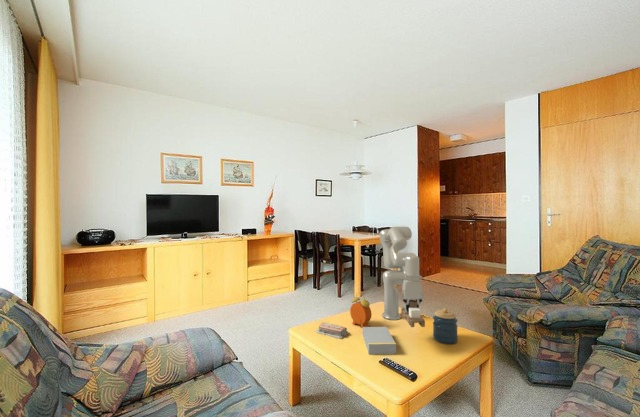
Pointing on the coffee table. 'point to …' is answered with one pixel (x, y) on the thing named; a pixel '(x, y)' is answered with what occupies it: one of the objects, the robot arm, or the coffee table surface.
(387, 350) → the dock
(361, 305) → the alarm clock
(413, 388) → the coffee table surface
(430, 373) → the coffee table surface
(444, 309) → the canister
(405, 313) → the brown open frame
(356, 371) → the coffee table surface
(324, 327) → the packaged product
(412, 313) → the block
